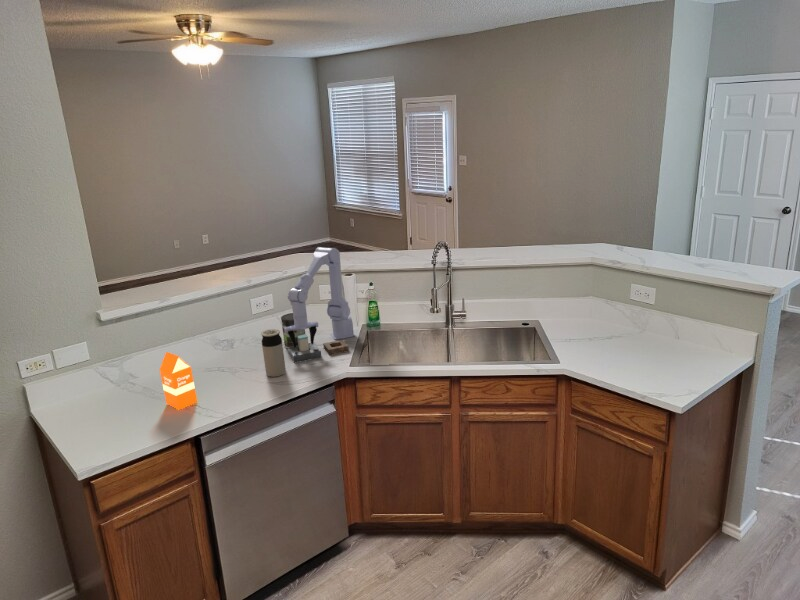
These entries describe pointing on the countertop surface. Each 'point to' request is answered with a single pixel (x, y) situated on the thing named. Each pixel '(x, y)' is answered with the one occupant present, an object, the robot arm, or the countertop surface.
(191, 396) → the orange juice
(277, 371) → the travel mug
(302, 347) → the plug
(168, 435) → the countertop surface
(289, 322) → the coffee can
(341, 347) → the wooden square frame
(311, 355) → the port panel
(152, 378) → the countertop surface
